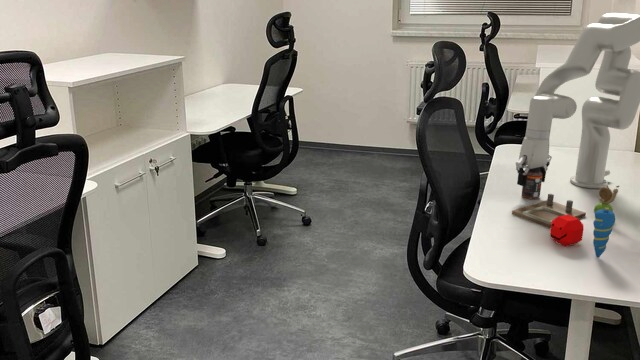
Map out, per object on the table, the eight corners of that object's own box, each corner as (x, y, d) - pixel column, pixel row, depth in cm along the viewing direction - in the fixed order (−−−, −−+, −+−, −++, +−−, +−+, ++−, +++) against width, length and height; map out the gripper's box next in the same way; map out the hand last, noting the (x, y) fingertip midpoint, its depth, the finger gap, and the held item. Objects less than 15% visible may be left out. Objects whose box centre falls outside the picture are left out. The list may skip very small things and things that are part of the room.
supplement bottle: (540, 200, 207) (544, 168, 203) (522, 199, 208) (526, 167, 205) (538, 194, 213) (542, 163, 209) (520, 193, 214) (524, 162, 210)
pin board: (547, 203, 205) (549, 189, 203) (585, 216, 194) (587, 202, 192) (511, 213, 195) (513, 199, 194) (549, 228, 184) (551, 213, 183)
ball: (543, 239, 176) (547, 215, 174) (564, 235, 180) (568, 210, 177) (564, 250, 170) (568, 225, 167) (586, 245, 173) (590, 220, 170)
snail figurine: (606, 224, 188) (612, 187, 184) (588, 217, 193) (594, 181, 189) (618, 221, 190) (624, 184, 186) (600, 214, 195) (606, 178, 192)
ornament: (584, 253, 168) (592, 202, 163) (602, 253, 168) (610, 201, 163) (593, 262, 163) (602, 209, 158) (612, 261, 163) (621, 208, 158)
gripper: (544, 129, 211) (537, 176, 216) (511, 134, 202) (504, 184, 207) (563, 133, 205) (556, 182, 210) (530, 139, 196) (523, 190, 201)
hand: (530, 183), depth 208 cm, fingers open, 9 cm apart
